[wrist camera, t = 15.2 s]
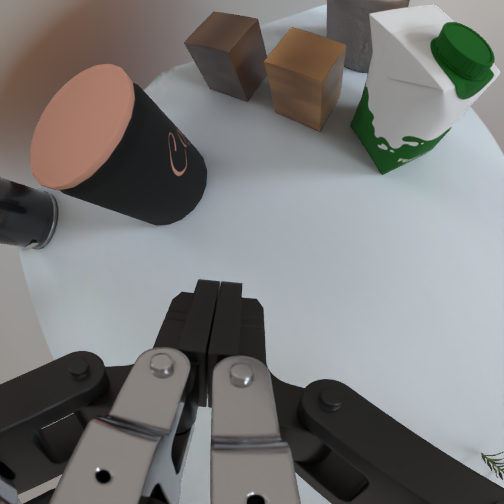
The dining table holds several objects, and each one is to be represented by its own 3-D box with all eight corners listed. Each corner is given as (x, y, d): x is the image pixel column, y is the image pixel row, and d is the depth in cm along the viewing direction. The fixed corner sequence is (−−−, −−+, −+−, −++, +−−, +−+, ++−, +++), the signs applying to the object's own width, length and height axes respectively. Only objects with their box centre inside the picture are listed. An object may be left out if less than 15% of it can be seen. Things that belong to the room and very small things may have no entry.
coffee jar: (225, 198, 33) (147, 125, 16) (150, 242, 34) (36, 216, 17) (190, 130, 35) (116, 42, 17) (124, 173, 36) (27, 120, 18)
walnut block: (209, 89, 35) (183, 42, 25) (233, 59, 35) (213, 11, 25) (247, 101, 34) (228, 51, 24) (270, 70, 34) (258, 18, 24)
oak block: (275, 112, 33) (263, 61, 23) (297, 79, 33) (291, 26, 23) (319, 132, 32) (322, 82, 22) (339, 97, 32) (346, 44, 22)
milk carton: (379, 185, 30) (455, 81, 11) (339, 121, 32) (357, -12, 12) (434, 157, 29) (521, 63, 10) (394, 99, 30) (439, -18, 11)
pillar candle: (387, 34, 31) (403, -38, 16) (396, 79, 31) (424, 0, 16) (324, 26, 33) (322, -51, 18) (326, 69, 32) (328, -17, 18)
